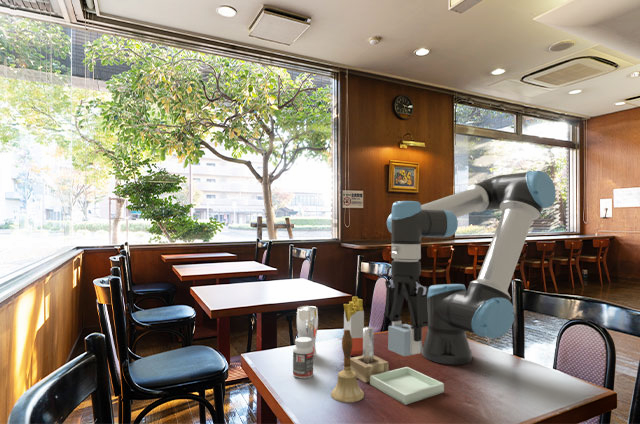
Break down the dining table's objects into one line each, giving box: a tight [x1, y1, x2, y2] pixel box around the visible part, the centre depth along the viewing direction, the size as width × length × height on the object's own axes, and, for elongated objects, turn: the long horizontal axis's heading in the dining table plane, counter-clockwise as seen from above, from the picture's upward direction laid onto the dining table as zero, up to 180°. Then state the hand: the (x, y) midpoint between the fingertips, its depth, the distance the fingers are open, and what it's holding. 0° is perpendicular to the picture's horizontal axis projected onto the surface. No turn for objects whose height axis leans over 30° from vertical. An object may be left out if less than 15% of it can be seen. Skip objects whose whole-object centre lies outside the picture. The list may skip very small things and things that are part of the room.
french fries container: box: [343, 296, 365, 357], centre depth 125 cm, size 5×11×18 cm, turn 9°
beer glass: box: [296, 305, 319, 358], centre depth 123 cm, size 7×7×15 cm
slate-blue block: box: [387, 323, 423, 357], centre depth 98 cm, size 6×6×6 cm
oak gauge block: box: [350, 354, 390, 384], centre depth 107 cm, size 8×8×4 cm
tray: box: [369, 366, 445, 406], centre depth 98 cm, size 13×13×2 cm
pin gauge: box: [362, 326, 375, 364], centre depth 107 cm, size 3×3×13 cm
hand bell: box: [330, 330, 365, 404], centre depth 94 cm, size 8×8×16 cm
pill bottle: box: [292, 337, 314, 379], centre depth 106 cm, size 6×6×10 cm
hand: (405, 349), depth 98 cm, fingers closed on slate-blue block, 6 cm apart
